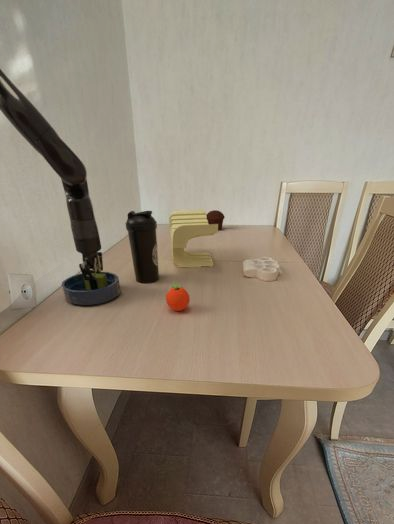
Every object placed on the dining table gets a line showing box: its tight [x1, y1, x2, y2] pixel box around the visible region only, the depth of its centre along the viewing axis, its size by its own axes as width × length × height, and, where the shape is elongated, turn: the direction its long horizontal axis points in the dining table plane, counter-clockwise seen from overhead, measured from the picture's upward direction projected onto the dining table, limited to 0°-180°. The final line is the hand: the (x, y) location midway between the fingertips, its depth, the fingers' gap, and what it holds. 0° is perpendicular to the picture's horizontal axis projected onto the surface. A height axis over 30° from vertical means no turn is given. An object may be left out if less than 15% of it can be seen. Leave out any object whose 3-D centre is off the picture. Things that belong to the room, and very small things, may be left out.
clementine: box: [165, 285, 191, 312], centre depth 87 cm, size 8×7×7 cm
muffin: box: [206, 210, 225, 232], centre depth 173 cm, size 12×11×10 cm
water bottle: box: [125, 210, 160, 284], centre depth 103 cm, size 10×10×23 cm
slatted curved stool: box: [168, 209, 219, 268], centre depth 120 cm, size 30×16×18 cm, turn 7°
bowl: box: [60, 271, 122, 306], centre depth 96 cm, size 18×18×5 cm
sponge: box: [84, 273, 108, 291], centre depth 98 cm, size 6×4×5 cm, turn 86°
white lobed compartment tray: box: [242, 256, 284, 282], centre depth 112 cm, size 3×18×15 cm
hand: (97, 287), depth 99 cm, fingers closed on sponge, 4 cm apart
